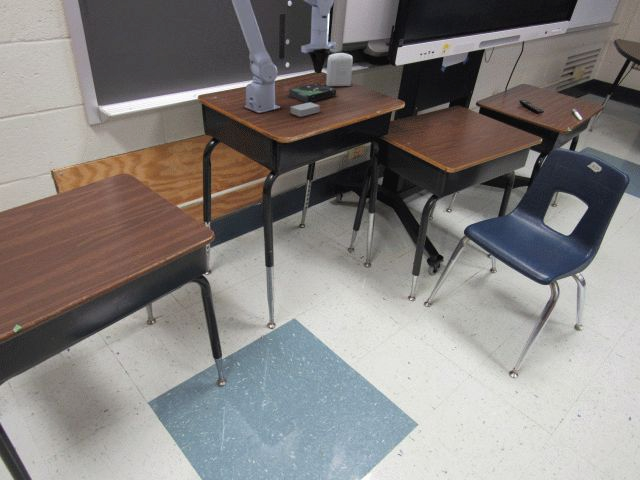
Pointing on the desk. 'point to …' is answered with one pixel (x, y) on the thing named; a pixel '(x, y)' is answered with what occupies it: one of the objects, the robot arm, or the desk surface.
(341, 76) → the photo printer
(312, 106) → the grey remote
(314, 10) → the robot arm
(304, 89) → the disk drive
